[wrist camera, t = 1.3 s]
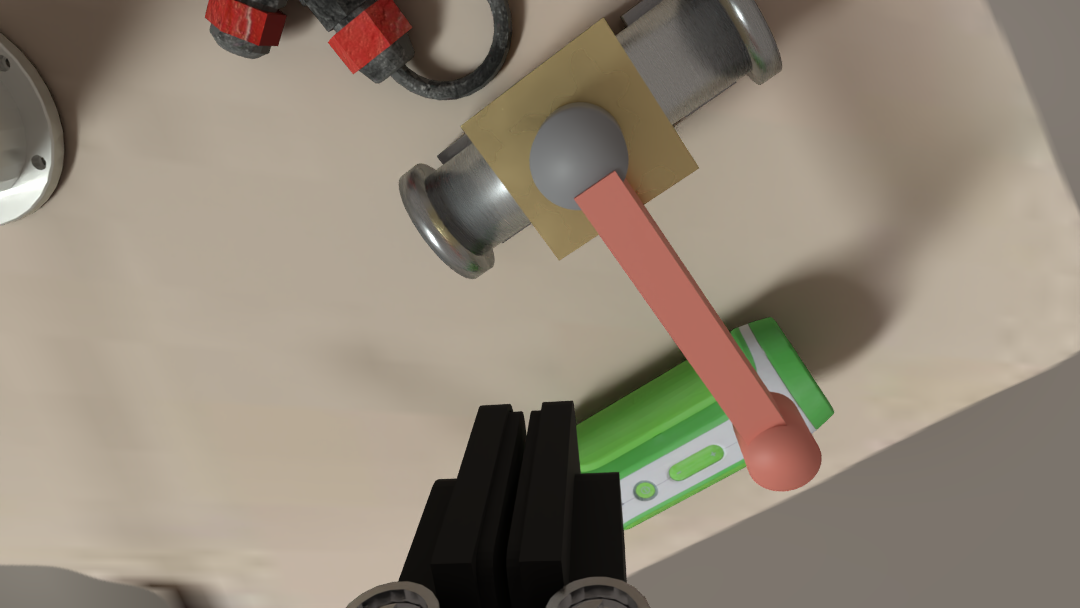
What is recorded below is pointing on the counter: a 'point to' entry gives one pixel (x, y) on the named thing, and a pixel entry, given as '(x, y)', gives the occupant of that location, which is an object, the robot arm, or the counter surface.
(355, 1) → the valve
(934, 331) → the counter surface
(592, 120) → the lever
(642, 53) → the pipe valve
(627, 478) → the speaker
